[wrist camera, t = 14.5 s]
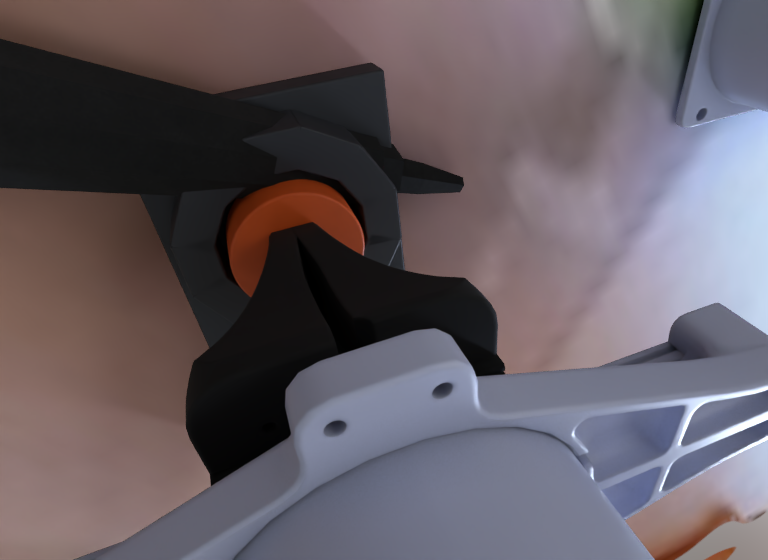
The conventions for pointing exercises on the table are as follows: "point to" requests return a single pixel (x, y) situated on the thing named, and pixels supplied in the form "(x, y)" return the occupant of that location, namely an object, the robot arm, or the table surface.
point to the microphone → (148, 135)
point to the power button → (284, 223)
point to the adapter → (293, 151)
